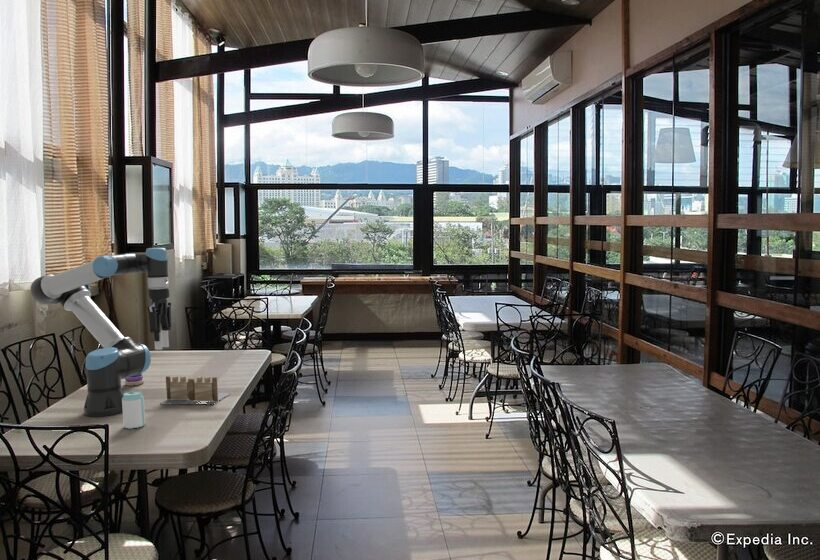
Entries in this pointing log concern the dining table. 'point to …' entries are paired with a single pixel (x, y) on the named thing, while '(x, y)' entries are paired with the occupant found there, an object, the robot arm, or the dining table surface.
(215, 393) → the fixed fence section
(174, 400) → the card
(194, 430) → the dining table surface
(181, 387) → the hinged fence panel
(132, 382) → the stacking toy
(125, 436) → the dining table surface
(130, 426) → the can
